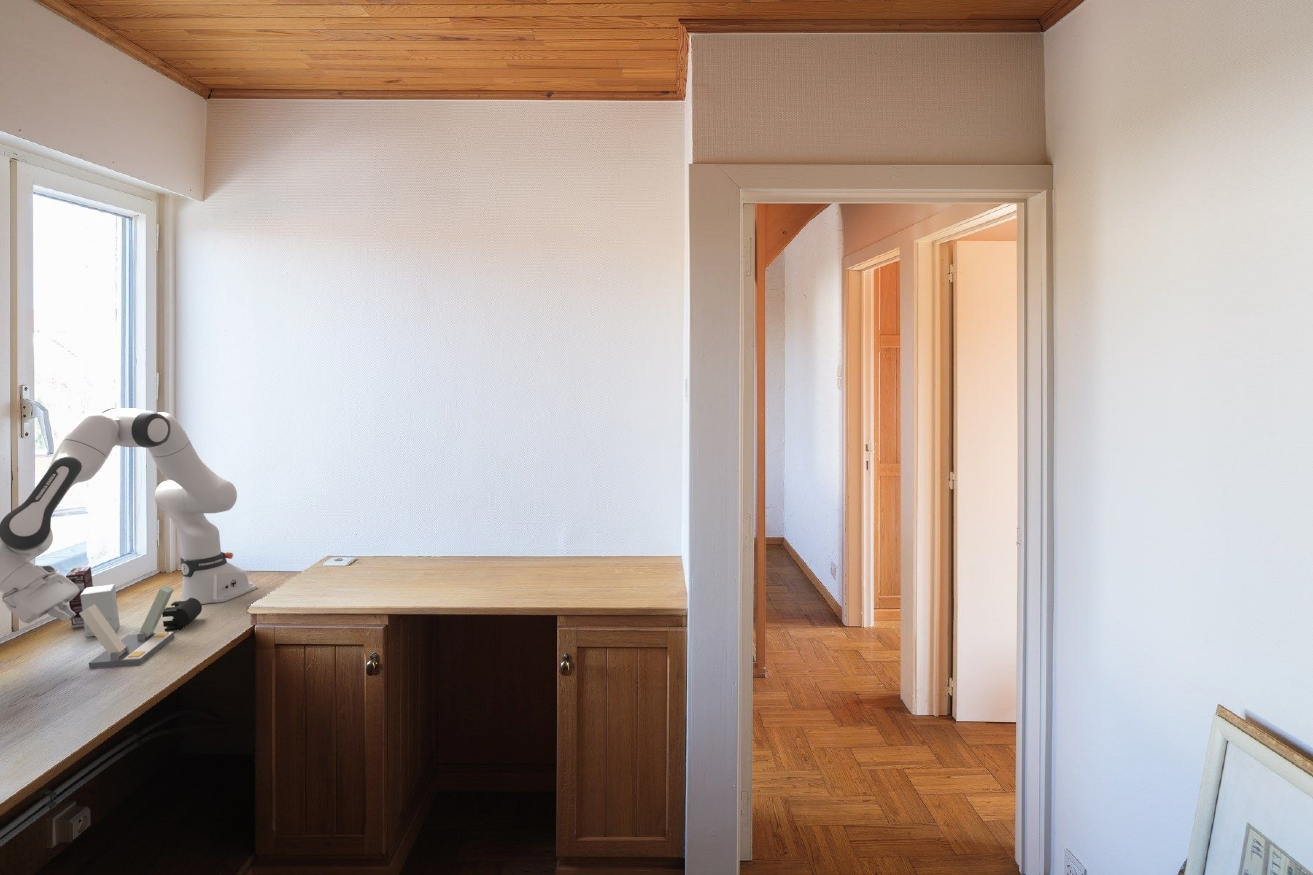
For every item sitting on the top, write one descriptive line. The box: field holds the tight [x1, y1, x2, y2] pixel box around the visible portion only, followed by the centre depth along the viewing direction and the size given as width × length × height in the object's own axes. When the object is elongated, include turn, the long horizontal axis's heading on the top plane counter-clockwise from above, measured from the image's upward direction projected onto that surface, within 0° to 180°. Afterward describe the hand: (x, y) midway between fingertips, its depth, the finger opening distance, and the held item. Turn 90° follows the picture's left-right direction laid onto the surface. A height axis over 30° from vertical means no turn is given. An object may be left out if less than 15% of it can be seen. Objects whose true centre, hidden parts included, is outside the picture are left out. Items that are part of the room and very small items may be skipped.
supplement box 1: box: [65, 566, 94, 629], centre depth 242 cm, size 9×5×16 cm, turn 23°
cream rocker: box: [79, 604, 126, 656], centre depth 210 cm, size 2×4×15 cm
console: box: [88, 631, 175, 670], centre depth 218 cm, size 12×20×4 cm, turn 8°
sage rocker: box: [138, 585, 175, 637], centre depth 224 cm, size 2×4×15 cm, turn 8°
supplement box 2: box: [80, 583, 121, 638], centre depth 234 cm, size 7×7×13 cm
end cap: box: [161, 598, 203, 632], centre depth 238 cm, size 10×7×7 cm
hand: (71, 618), depth 208 cm, fingers closed
